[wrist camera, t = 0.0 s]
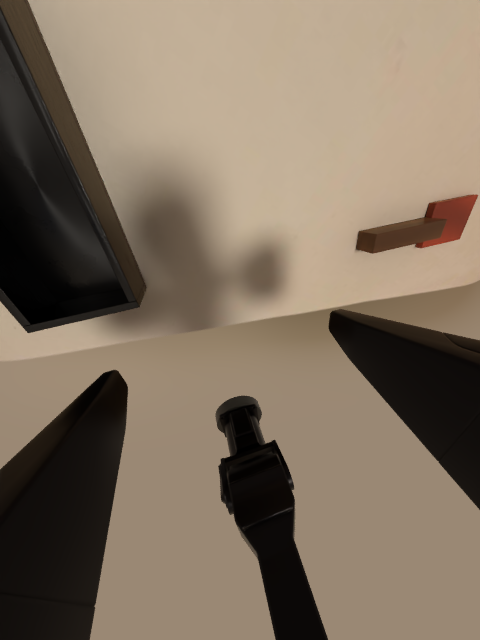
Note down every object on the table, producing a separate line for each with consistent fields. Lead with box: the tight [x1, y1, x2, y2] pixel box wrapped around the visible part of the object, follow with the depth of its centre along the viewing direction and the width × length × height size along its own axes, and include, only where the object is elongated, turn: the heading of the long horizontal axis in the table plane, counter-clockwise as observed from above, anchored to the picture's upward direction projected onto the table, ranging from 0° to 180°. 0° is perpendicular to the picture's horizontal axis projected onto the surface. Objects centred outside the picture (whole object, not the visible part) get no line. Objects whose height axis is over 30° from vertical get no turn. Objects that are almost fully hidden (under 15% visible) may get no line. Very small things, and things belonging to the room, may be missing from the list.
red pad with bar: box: [356, 195, 478, 254], centre depth 23 cm, size 5×15×2 cm, turn 98°
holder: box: [0, 0, 147, 333], centre depth 13 cm, size 18×8×4 cm, turn 8°
